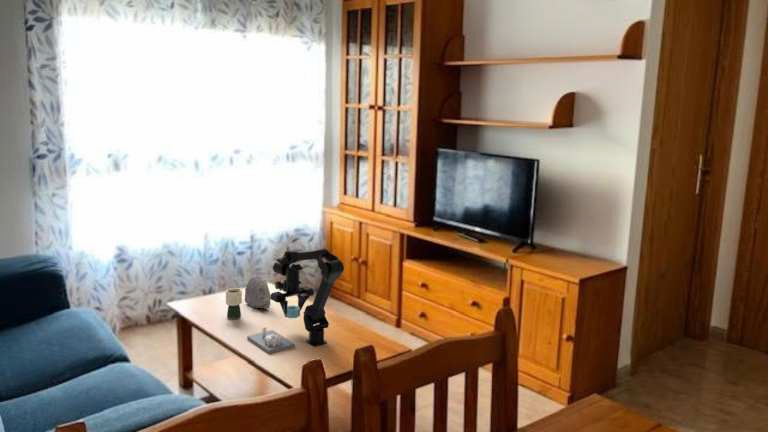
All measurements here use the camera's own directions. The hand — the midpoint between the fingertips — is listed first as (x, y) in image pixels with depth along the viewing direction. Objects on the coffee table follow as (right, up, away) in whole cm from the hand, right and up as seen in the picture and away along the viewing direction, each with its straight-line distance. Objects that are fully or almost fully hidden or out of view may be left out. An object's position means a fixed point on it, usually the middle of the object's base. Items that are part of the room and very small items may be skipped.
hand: (292, 312), depth 280 cm
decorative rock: (-21, -2, +31) cm, 37 cm away
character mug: (-29, -5, +15) cm, 33 cm away
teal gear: (0, -1, 0) cm, 1 cm away
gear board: (-7, -11, -12) cm, 18 cm away
